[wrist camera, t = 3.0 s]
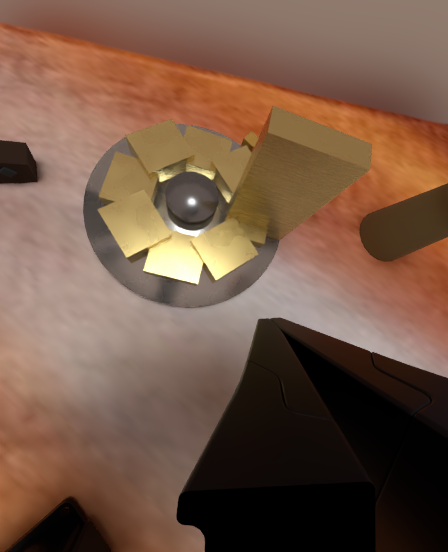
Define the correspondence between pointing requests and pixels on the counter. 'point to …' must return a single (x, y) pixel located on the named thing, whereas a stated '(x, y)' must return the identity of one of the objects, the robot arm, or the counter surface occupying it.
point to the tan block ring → (226, 190)
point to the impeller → (178, 217)
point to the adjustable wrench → (16, 163)
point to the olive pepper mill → (406, 225)
